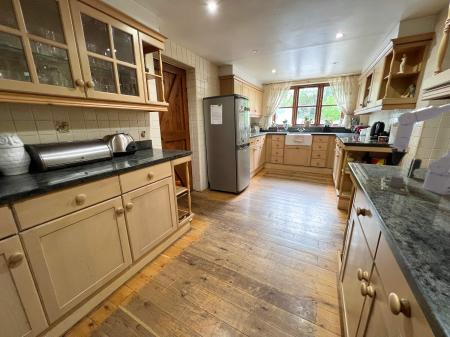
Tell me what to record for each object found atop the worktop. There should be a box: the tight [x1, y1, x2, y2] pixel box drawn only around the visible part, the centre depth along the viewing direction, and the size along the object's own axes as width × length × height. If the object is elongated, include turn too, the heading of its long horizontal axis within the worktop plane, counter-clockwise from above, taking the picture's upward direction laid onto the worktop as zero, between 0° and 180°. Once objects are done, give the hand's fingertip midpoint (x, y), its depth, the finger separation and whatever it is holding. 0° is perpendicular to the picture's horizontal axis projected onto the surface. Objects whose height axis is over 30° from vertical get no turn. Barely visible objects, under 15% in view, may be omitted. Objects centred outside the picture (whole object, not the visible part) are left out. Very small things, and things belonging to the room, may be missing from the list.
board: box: [380, 176, 410, 196], centre depth 92 cm, size 21×10×2 cm, turn 141°
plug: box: [388, 174, 405, 189], centre depth 87 cm, size 4×4×6 cm
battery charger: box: [406, 157, 423, 179], centre depth 106 cm, size 7×4×11 cm, turn 129°
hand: (395, 163), depth 99 cm, fingers open, 7 cm apart
